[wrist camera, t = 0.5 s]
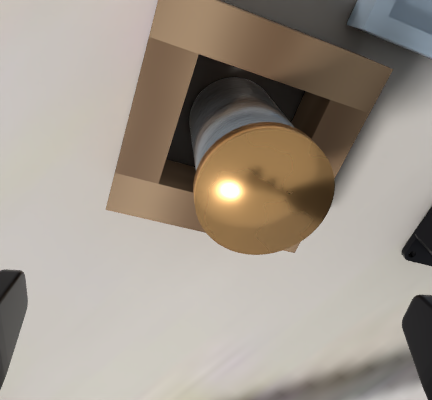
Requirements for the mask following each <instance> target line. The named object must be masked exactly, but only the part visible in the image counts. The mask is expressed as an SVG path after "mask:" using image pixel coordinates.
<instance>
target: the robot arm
mask: <svg viewBox="0 0 432 400" xmlns="http://www.w3.org/2000/svg"><path fill="white" fill-rule="evenodd" d="M410 252H411V253H410ZM402 255H403V256H404V258H405V259H406V260H408V261H412V262H417V263H421V264H425V265H429V266H432V207H431V209H430V210H429V212H428V213H427V215H426V216H425V217H424V219H423V220H422V222H421V223H420V225H419V226H418V228H417V229H416V230H415V232H414V233H413V235H412V236H411V238H410V239H409V241H408V242H407V244H406V245H405V246H404V248H403V249H402ZM27 304H28V298H27V289H26V280H25V274H24V272H22V271H20V270H1V271H0V389H1V387H2V384H3V382H4V380H5V377H6V374H7V371H8V368H9V365H10V362H11V358H12V355H13V352H14V349H15V345H16V342H17V339H18V336H19V333H20V329H21V326H22V323H23V320H24V317H25V313H26V310H27ZM402 328H403V332H404V334H405V337H406V340H407V343H408V346H409V349H410V352H411V355H412V358H413V361H414V364H415V366H416V369H417V372H418V375H419V378H420V381H421V384H422V386H423V389H424V391H425V394H426V396H427V398H428V400H432V296H431V295H416V296H415V297H414V298H413V299H412V301H411V303H410V305H409V307H408V309H407V311H406V313H405V315H404V317H403V320H402Z"/></svg>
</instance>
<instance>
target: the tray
mask: <svg viewBox="0 0 432 400" xmlns="http://www.w3.org/2000/svg"><path fill="white" fill-rule="evenodd" d="M347 25H349V26H352V27H354V28H356V29H359V30H361V31H364V32H366V33H369V34H371V35H374V36H376V37H379V38H381V39H383V40H386V41H388V42H391V43H393V44H396V45H398V46H401V47H403V48H406V49H408V50H410V51H413V52H415V53H418V54H420V55H423V56H425V57H428V58H430V59H432V0H357V3H356V5H355V7H354V9H353V11H352V13H351V16H350V18H349V20H348V22H347Z"/></svg>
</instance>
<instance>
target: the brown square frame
mask: <svg viewBox="0 0 432 400" xmlns="http://www.w3.org/2000/svg"><path fill="white" fill-rule="evenodd" d="M199 54H200V55H203V56H206V57H209V58H212V59H214V60H217V61H220V62H223V63H226V64H229V65H232V66H235V67H237V68H240V69H243V70H246V71H249V72H252V73H255V74H258V75H260V76H263V77H266V78H269V79H272V80H275V81H278V82H281V83H283V84H286V85H289V86H292V87H295V88H298V89H301V90H304V91H305V93H304V96H303V98H302V100H301V102H300V105H299V107H298V109H297V111H296V114H295V116H294V118H293V120H292V122H291V124H292V125H293V126H294V127H295V128H297V129H299V130H300V131H302V132H304V133H305V134H306V135H308V136H309V137H310V138H311V139H312V140H313V141H314V142H315V143H316V145H317V146H318V147H319V148H320V149H321V150H322V152H323V153H324V154H325V156H326V157H327V159H328V160H329V162H330V165H331V167H332V170H333V174H334V179H335V177H336V175H337V173H338V171H339V169H340V167H341V165H342V164H343V162H344V160H345V158H346V156H347V154H348V152H349V151H350V149H351V147H352V145H353V143H354V141H355V139H356V138H357V136H358V134H359V132H360V130H361V128H362V126H363V125H364V123H365V121H366V119H367V117H368V115H369V113H370V112H371V110H372V108H373V106H374V104H375V102H376V100H377V98H378V97H379V95H380V93H381V91H382V89H383V87H384V85H385V84H386V82H387V80H388V78H389V76H390V74H391V72H392V71H393V69H391V68H389V67H387V66H384V65H382V64H380V63H377V62H375V61H373V60H371V59H368V58H366V57H364V56H361V55H359V54H356V53H353V52H351V51H348V50H346V49H343V48H341V47H338V46H335V45H333V44H330V43H328V42H325V41H323V40H320V39H317V38H315V37H312V36H310V35H307V34H305V33H302V32H299V31H297V30H294V29H292V28H289V27H287V26H284V25H281V24H279V23H276V22H274V21H271V20H269V19H266V18H263V17H261V16H258V15H256V14H253V13H251V12H248V11H245V10H243V9H240V8H238V7H235V6H233V5H230V4H227V3H225V2H222V1H220V0H158V3H157V7H156V11H155V15H154V19H153V23H152V27H151V31H150V35H149V39H148V43H147V47H146V51H145V55H144V59H143V63H142V67H141V71H140V75H139V79H138V83H137V87H136V91H135V95H134V99H133V103H132V107H131V111H130V115H129V119H128V123H127V127H126V131H125V135H124V139H123V142H122V146H121V150H120V154H119V158H118V162H117V166H116V170H115V174H114V178H113V182H112V186H111V190H110V194H109V198H108V202H107V206H106V210H110V211H114V212H118V213H123V214H127V215H131V216H136V217H140V218H144V219H149V220H153V221H158V222H162V223H166V224H171V225H175V226H179V227H184V228H188V229H192V230H197V231H201V232H205V231H204V229H203V228H202V226H201V224H200V222H199V220H198V217H197V214H196V210H195V203H194V195H193V183H194V177H195V173H196V168H195V167H193V166H189V165H185V164H181V163H178V162H174V161H170V160H167V159H166V158H167V155H168V151H169V148H170V145H171V142H172V139H173V135H174V132H175V129H176V126H177V123H178V119H179V116H180V113H181V110H182V106H183V103H184V100H185V97H186V94H187V90H188V87H189V84H190V81H191V78H192V74H193V71H194V68H195V65H196V61H197V58H198V55H199ZM205 233H206V232H205ZM299 244H300V242H299V243H297V244H296V245H294V246H292V247H290V248H287V249H284V251H288V252H293V253H295V251H296V249H297V247H298V246H299Z"/></svg>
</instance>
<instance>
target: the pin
mask: <svg viewBox="0 0 432 400" xmlns="http://www.w3.org/2000/svg"><path fill="white" fill-rule="evenodd" d="M189 126H190V133H191V140H192V147H193V154H194V161H195V168H196V173H195V177H194V183H193V195H194V203H195V210H196V214H197V217H198V220H199V222H200V224H201V226H202V228H203V229H204V231H205V232H206V233H207V234H208V235H209V236H210V237H211V238H212V239H213V240H214V241H215V242H217V243H218V244H219V245H221V246H223V247H225V248H227V249H229V250H232V251H235V252H238V253H243V254H252V255H260V254H269V253H275V252H278V251H282V250H284V249H287V248H290V247H292V246H294V245H296V244H297V243H299V242H301V241H302V240H304V239H305V238H306V237H308V236H309V235H310V234H311V233H312V232H313V231H314V230H315V229H316V228H317V227H318V226H319V225H320V224H321V222H322V221H323V220H324V218H325V216H326V215H327V213H328V211H329V209H330V206H331V203H332V200H333V196H334V188H335V181H334V174H333V170H332V167H331V165H330V162H329V160H328V159H327V157H326V156H325V154H324V153H323V152H322V150H321V149H320V148H319V147H318V146H317V145H316V143H315V142H314V141H313V140H312V139H311V138H310V137H309V136H308V135H306V134H305V133H304V132H302V131H300V130H299V129H297V128H295V127H294V126H293V125H292V124H291V122H290V121H289V120H288V119H287V117H286V116H285V115H284V114H283V112H282V111H281V110H280V109H279V108H278V106H277V105H276V104H275V103H274V101H273V100H272V99H271V98H270V97H269V95H268V94H267V93H266V92H265V91H264V90H263V88H261V87H260V86H259V85H258V84H256V83H254V82H253V81H250V80H248V79H244V78H238V77H230V78H224V79H221V80H218V81H215V82H213V83H212V84H210V85H208V86H207V87H206V88H205V89H203V90H202V91H201V92H200V94H199V95H198V96H197V98H196V99H195V101H194V103H193V105H192V108H191V111H190V117H189Z"/></svg>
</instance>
